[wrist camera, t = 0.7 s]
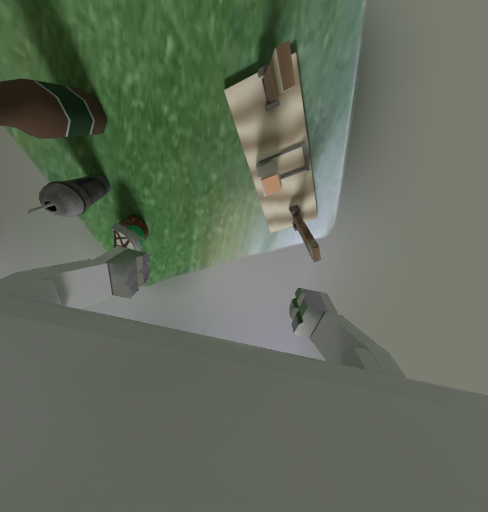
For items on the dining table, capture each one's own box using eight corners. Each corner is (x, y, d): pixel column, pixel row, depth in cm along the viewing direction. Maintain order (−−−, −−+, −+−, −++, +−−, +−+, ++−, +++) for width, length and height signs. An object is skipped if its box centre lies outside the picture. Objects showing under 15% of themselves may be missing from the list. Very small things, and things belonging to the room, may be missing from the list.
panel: (224, 91, 36) (222, 88, 32) (293, 55, 33) (300, 46, 29) (270, 230, 55) (271, 238, 51) (316, 215, 52) (321, 222, 48)
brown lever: (266, 104, 35) (282, 92, 21) (261, 79, 33) (274, 48, 19) (275, 99, 35) (297, 84, 21) (270, 74, 33) (290, 39, 18)
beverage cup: (81, 184, 47) (-3, 216, 31) (90, 162, 43) (2, 186, 28) (110, 203, 50) (47, 241, 34) (120, 184, 47) (56, 216, 31)
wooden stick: (293, 223, 51) (313, 262, 37) (291, 211, 49) (310, 248, 35) (300, 221, 51) (321, 260, 36) (297, 209, 49) (320, 246, 34)
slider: (260, 183, 45) (264, 198, 36) (255, 167, 42) (258, 179, 34) (276, 177, 44) (284, 191, 35) (271, 160, 42) (279, 171, 33)
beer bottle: (62, 81, 35) (-158, 33, 16) (105, 97, 36) (-48, 71, 17) (72, 128, 39) (-89, 135, 20) (110, 140, 41) (-7, 158, 22)
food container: (150, 249, 59) (136, 268, 51) (131, 243, 58) (113, 262, 50) (153, 217, 52) (137, 234, 44) (131, 210, 51) (110, 226, 43)
